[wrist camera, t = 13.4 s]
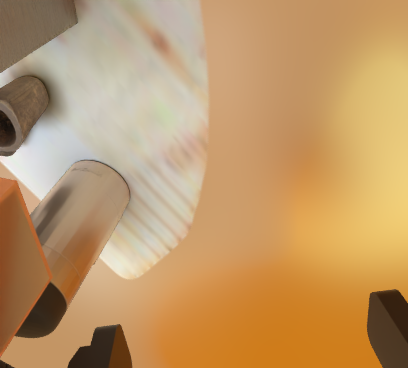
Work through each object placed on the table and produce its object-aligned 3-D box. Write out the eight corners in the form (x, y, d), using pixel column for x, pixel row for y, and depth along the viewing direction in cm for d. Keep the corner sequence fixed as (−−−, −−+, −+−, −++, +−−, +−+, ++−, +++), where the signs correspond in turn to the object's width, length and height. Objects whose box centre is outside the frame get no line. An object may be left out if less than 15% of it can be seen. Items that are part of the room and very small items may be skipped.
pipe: (-5, 124, 50) (-49, 160, 44) (22, 51, 42) (-28, 82, 36) (37, 152, 52) (-1, 190, 46) (70, 86, 44) (30, 121, 38)
